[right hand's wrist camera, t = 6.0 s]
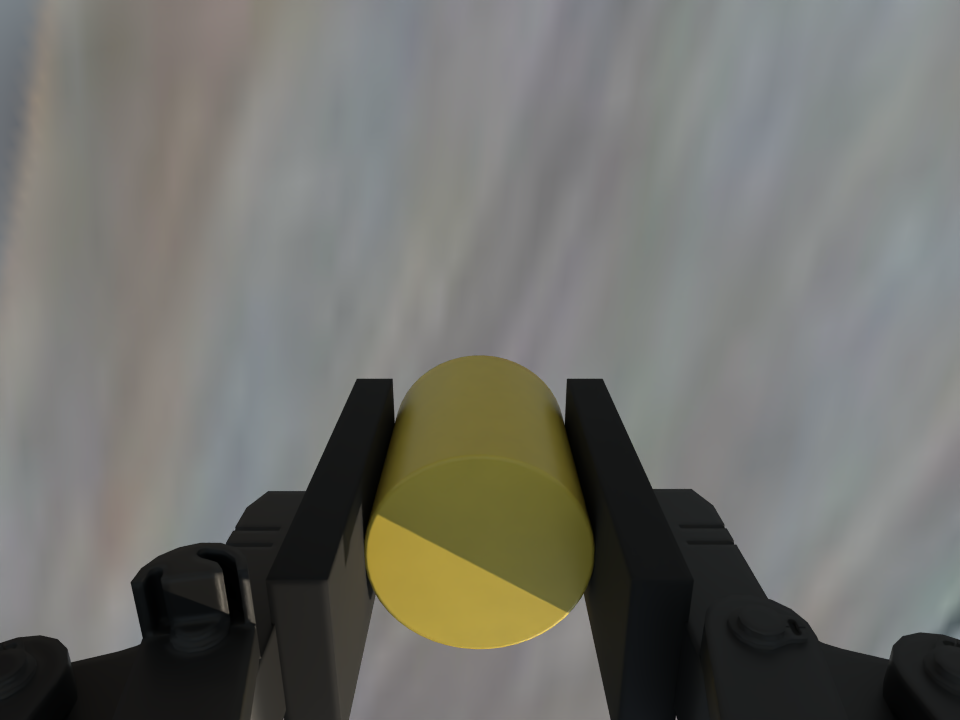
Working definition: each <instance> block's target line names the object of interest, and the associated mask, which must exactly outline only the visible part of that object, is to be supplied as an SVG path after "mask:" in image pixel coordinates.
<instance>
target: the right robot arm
mask: <svg viewBox="0 0 960 720" xmlns="http://www.w3.org/2000/svg"><path fill="white" fill-rule="evenodd" d="M394 425H395V420H394V399H393V379H357V380H356V382H355V384H354V386H353V389H352V391H351V393H350V395H349V397H348V400H347V402H346V404H345V406H344V408H343V411H342V413H341V415H340V417H339V419H338V422H337V424H336V426H335V428H334V430H333V433H332V435H331V437H330V439H329V441H328V444H327V446H326V448H325V450H324V452H323V455H322V457H321V459H320V461H319V463H318V466H317V468H316V470H315V472H314V474H313V477H312V479H311V481H310V483H309V485H308V488H307V490H306V491H268V492H267V493H265V494H264V495H263V496H261V497H260V498H259V499H257V500H256V501H255V502H253V503H252V504H251V505H250V506H248V507H247V508H246V510H245V511H244V513H243V515H242V516H241V518H240V520H239V522H238V523H237V525H236V527H235V531H233V532H232V534H231V535H230V537H229V539H228V540H227V542H226V544H223V543H198V544H193V545H188V546H183V547H179V548H177V549H174V550H172V551H169V552H167V553H165V554H162V555H160V556H158V557H156V558H155V559H154V560H152V561H151V562H149V563H148V564H147V565H145V566H144V567H142V568H141V569H140V571H139V572H138V573H137V575H136V576H135V577H134V579H133V580H132V581H131V586H132V591H133V595H134V600H135V605H136V609H137V614H138V618H139V623H140V627H141V632H142V637H143V639H142V642H141V644H140V645H137V646H135V647H132V648H128V649H125V650H122V651H118V652H114V653H110V654H106V655H101V656H97V657H93V658H88V659H84V660H80V661H76V662H71V661H70V657H69V653H68V650H67V648H66V647H65V646H64V645H63V644H62V643H61V642H60V641H59V640H58V639H55V638H50V637H45V636H41V635H39V636H29V637H18V638H15V639H11V640H8V641H5V642H2V643H0V720H283V718H284V720H349V716H350V712H351V707H352V702H353V698H354V693H355V688H356V684H357V679H358V674H359V670H360V665H361V660H362V656H363V651H364V646H365V642H366V637H367V632H368V628H369V623H370V618H371V614H372V609H373V604H374V600H375V595H376V594H375V592H374V590H373V588H372V586H371V583H370V581H369V579H368V576H367V572H366V567H365V555H364V538H365V533H366V529H367V525H368V521H369V517H370V514H371V510H372V506H373V503H374V499H375V495H376V492H377V488H378V484H379V480H380V477H381V473H382V469H383V466H384V462H385V458H386V455H387V451H388V447H389V444H390V440H391V436H392V432H393V429H394ZM565 429H566V432H567V436H568V440H569V444H570V447H571V451H572V455H573V459H574V462H575V466H576V470H577V474H578V477H579V481H580V485H581V489H582V492H583V496H584V500H585V504H586V507H587V511H588V515H589V519H590V522H591V526H592V530H593V534H594V541H595V557H594V567H593V572H592V575H591V578H590V580H589V583H588V586H587V588H586V590H585V592H584V597H585V602H586V606H587V611H588V616H589V620H590V625H591V630H592V634H593V639H594V644H595V649H596V653H597V658H598V663H599V667H600V672H601V677H602V681H603V686H604V691H605V695H606V700H607V705H608V709H609V714H610V719H611V720H675V718H676V716H677V720H960V640H958V639H955V638H952V637H949V636H946V635H941V634H931V633H921V632H920V633H915V634H911V635H906V636H902V637H901V638H900V639H899V640H898V641H897V642H896V643H895V644H894V645H893V647H892V651H891V655H890V659H889V660H888V659H884V658H879V657H875V656H871V655H866V654H862V653H858V652H853V651H849V650H845V649H841V648H837V647H834V646H831V645H828V644H824V643H822V642H820V641H818V638H817V636H816V635H815V633H814V632H813V630H812V629H811V627H810V625H809V624H808V622H806V621H805V620H804V619H803V618H801V617H800V616H799V615H798V614H797V613H795V612H794V611H793V610H792V609H790V608H788V607H786V606H783V605H781V604H779V603H777V602H775V601H773V600H771V599H768V598H767V596H766V595H765V593H764V591H763V589H762V588H761V586H760V584H759V583H758V581H757V579H756V578H755V576H754V574H753V572H752V571H751V569H750V567H749V566H748V564H747V562H746V560H745V559H744V557H743V555H742V554H741V552H740V550H739V549H738V547H737V545H734V540H733V538H732V537H731V535H730V533H729V532H728V530H727V528H725V527H724V523H723V521H722V520H721V518H720V516H719V515H718V513H717V511H716V509H715V508H714V506H713V505H712V504H710V503H709V502H708V501H707V500H705V499H704V498H703V497H701V496H700V495H699V494H697V493H696V492H695V491H693V490H692V489H652V487H651V484H650V482H649V480H648V478H647V476H646V473H645V471H644V469H643V467H642V465H641V462H640V460H639V458H638V456H637V454H636V451H635V449H634V447H633V445H632V443H631V440H630V438H629V436H628V434H627V432H626V429H625V427H624V425H623V423H622V421H621V418H620V416H619V414H618V412H617V410H616V407H615V405H614V403H613V401H612V398H611V396H610V394H609V392H608V390H607V387H606V385H605V383H604V381H603V379H567V390H566V410H565Z"/></svg>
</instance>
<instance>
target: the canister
mask: <svg viewBox="0 0 960 720" xmlns="http://www.w3.org/2000/svg"><path fill="white" fill-rule="evenodd" d="M364 555H365V567H366V572H367V576H368V579H369V581H370V583H371V586H372V588H373V590H374V592H375V594H376V595H377V597H378V599H379V600H380V602H381V603H382V604H383V606H384V607H385V608H386V609H387V611H388V612H389V613H390V614H391V615H392V616H393V617H394V618H396V619H397V620H398V621H399V622H400V623H402V624H403V625H404V626H406V627H407V628H408V629H410V630H412V631H414V632H415V633H417V634H419V635H421V636H423V637H425V638H428V639H430V640H432V641H435V642H438V643H442V644H445V645H449V646H454V647H459V648H469V649H491V648H499V647H505V646H510V645H514V644H518V643H521V642H524V641H526V640H529V639H532V638H534V637H536V636H538V635H540V634H542V633H544V632H545V631H547V630H549V629H550V628H552V627H553V626H555V625H556V624H557V623H558V622H560V621H561V620H562V619H563V618H565V617H566V616H567V614H568V613H569V612H570V611H571V610H572V609H573V608H574V607H575V606H576V604H577V603H578V601H579V600H580V599H581V597H582V595H583V593H584V592H585V590H586V588H587V586H588V583H589V580H590V578H591V575H592V572H593V567H594V557H595V541H594V534H593V530H592V526H591V522H590V519H589V515H588V511H587V507H586V504H585V500H584V496H583V492H582V489H581V485H580V481H579V477H578V474H577V470H576V466H575V462H574V459H573V455H572V451H571V447H570V444H569V440H568V436H567V432H566V429H565V425H564V421H563V417H562V414H561V410H560V407H559V405H558V403H557V400H556V398H555V397H554V395H553V393H552V392H551V390H550V389H549V388H548V387H547V385H546V384H545V383H544V382H543V381H542V380H541V379H540V378H539V377H538V376H537V375H535V374H534V373H533V372H531V371H530V370H528V369H527V368H525V367H523V366H521V365H519V364H517V363H515V362H512V361H509V360H507V359H503V358H498V357H493V356H467V357H460V358H457V359H453V360H449V361H447V362H445V363H442V364H440V365H438V366H436V367H434V368H433V369H431V370H429V371H428V372H427V373H425V374H424V375H423V376H421V377H420V378H419V379H418V380H417V381H416V382H415V383H414V384H413V385H412V387H411V388H410V389H409V391H408V392H407V394H406V395H405V397H404V399H403V401H402V403H401V405H400V408H399V411H398V414H397V418H396V421H395V425H394V429H393V432H392V436H391V440H390V444H389V447H388V451H387V455H386V458H385V462H384V466H383V469H382V473H381V477H380V480H379V484H378V488H377V492H376V495H375V499H374V503H373V506H372V510H371V514H370V517H369V521H368V525H367V529H366V533H365V538H364Z"/></svg>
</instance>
